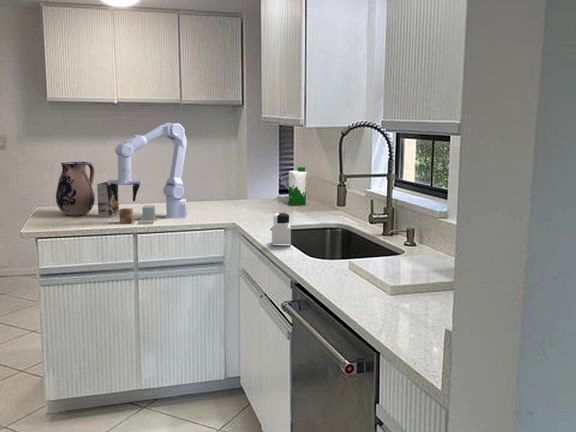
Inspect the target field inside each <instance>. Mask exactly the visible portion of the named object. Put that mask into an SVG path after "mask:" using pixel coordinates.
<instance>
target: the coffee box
mask: <svg viewBox="0 0 576 432" xmlns="http://www.w3.org/2000/svg"><path fill="white" fill-rule="evenodd" d="M96 189H97V192H96V193H97V211H98V213H97V214H98V215H97V217H98V218H105V219H106V218H107V219H111V218H114V217H117V216H119V210H120V203H119V200H120V199H119V197H118V201H115V197H114V194H113V192H112V190H111V188H110V185H108V181H105V182H100V183H97V184H96Z"/></svg>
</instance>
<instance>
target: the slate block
mask: <svg viewBox="0 0 576 432" xmlns="http://www.w3.org/2000/svg"><path fill="white" fill-rule="evenodd" d="M142 218H143V220H154V219H155V218H156V205H152V204H151V205H150V204H149V205H143V206H142Z"/></svg>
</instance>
